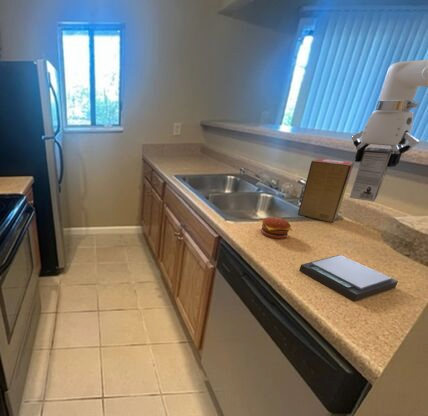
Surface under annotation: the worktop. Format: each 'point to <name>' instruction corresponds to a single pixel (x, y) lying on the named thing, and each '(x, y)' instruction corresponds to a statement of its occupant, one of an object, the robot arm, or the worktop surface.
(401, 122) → the robot arm
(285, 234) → the hamburger
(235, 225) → the worktop surface
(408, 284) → the worktop surface
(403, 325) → the worktop surface
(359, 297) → the scale
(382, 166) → the coffee box
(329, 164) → the food packaging
